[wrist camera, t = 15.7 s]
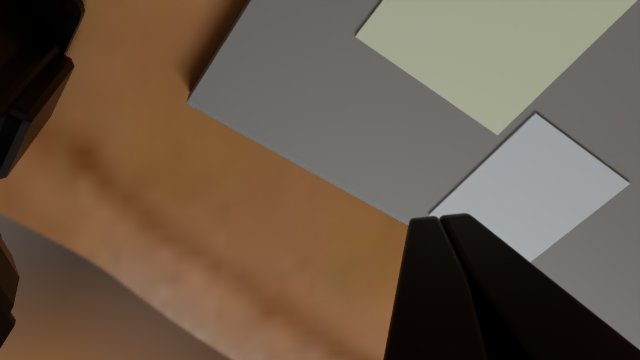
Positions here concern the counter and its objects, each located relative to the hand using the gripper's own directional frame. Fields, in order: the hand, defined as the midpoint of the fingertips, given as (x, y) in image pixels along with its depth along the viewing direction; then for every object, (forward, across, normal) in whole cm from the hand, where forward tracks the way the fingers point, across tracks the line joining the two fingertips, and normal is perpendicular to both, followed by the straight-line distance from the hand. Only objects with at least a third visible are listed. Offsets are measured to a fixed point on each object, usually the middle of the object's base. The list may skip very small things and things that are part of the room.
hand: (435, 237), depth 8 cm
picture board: (+12, -9, +7) cm, 17 cm away
